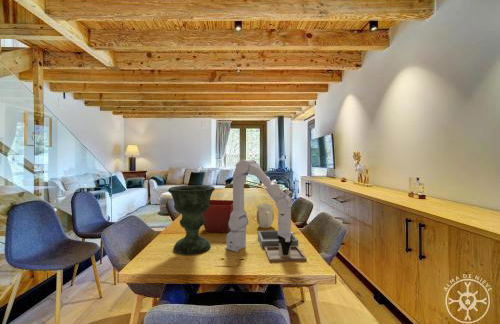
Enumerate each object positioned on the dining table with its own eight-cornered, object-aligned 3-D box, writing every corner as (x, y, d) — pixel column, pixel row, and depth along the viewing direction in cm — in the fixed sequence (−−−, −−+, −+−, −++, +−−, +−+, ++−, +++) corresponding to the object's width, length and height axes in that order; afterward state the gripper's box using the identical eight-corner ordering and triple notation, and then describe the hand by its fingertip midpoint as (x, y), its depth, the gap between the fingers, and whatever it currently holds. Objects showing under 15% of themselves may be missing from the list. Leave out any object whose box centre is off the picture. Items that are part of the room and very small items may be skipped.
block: (290, 256, 122) (290, 246, 122) (280, 256, 122) (280, 246, 122) (288, 252, 126) (288, 243, 126) (278, 253, 126) (278, 243, 126)
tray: (306, 262, 117) (306, 258, 117) (269, 264, 116) (269, 259, 115) (297, 249, 133) (297, 245, 133) (264, 250, 131) (264, 246, 131)
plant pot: (236, 226, 177) (236, 200, 177) (231, 234, 158) (231, 205, 158) (207, 225, 179) (207, 199, 179) (198, 233, 160) (198, 204, 160)
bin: (298, 248, 135) (298, 240, 135) (261, 249, 133) (261, 241, 133) (290, 237, 153) (290, 230, 153) (257, 238, 151) (257, 230, 151)
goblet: (222, 244, 141) (222, 186, 140) (199, 259, 120) (198, 191, 119) (187, 239, 149) (186, 184, 149) (158, 252, 128) (158, 189, 128)
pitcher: (259, 231, 165) (259, 208, 165) (254, 223, 183) (254, 203, 182) (277, 230, 167) (277, 208, 166) (270, 223, 184) (270, 202, 184)
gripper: (297, 226, 117) (297, 258, 117) (289, 219, 131) (289, 247, 132) (280, 227, 116) (280, 259, 117) (275, 219, 131) (274, 247, 131)
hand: (284, 252), depth 124 cm, fingers closed on block, 4 cm apart
